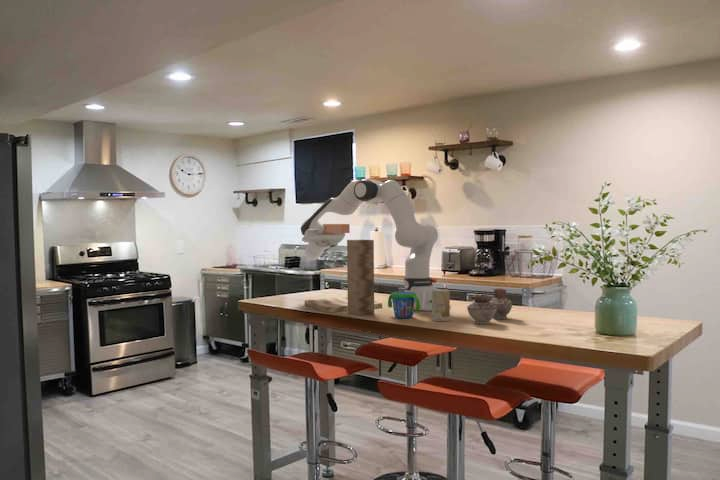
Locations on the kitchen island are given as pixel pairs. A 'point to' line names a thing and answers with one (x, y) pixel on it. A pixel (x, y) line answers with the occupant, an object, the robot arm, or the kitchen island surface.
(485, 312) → the pottery
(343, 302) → the oak base board
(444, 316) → the skincare box
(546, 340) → the kitchen island surface
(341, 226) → the terracotta rail
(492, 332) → the kitchen island surface
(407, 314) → the snack cup
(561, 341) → the kitchen island surface
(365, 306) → the walnut stand
